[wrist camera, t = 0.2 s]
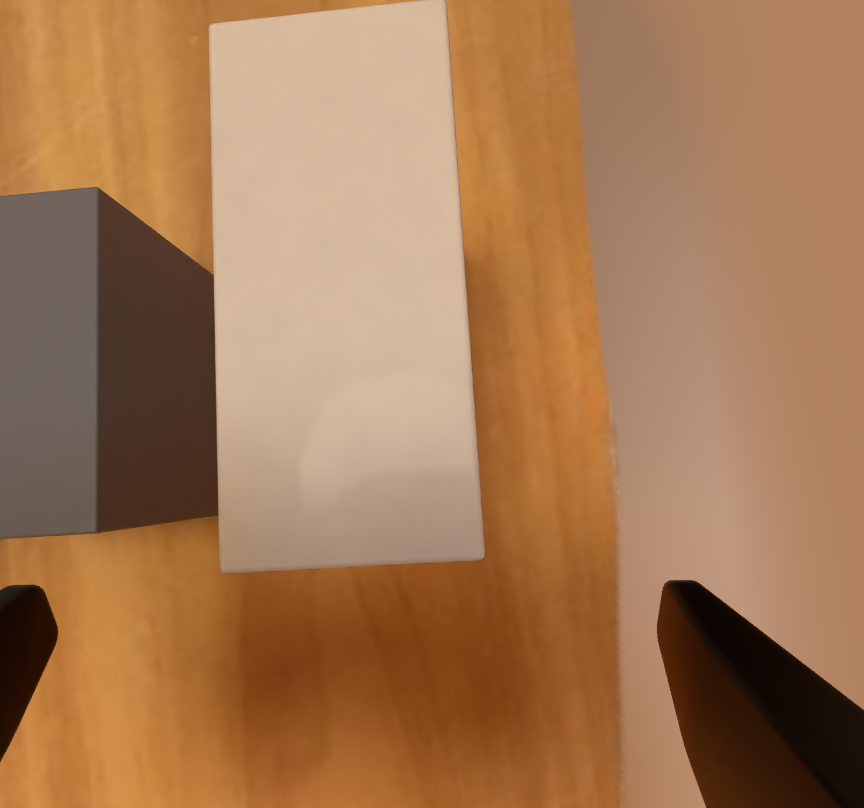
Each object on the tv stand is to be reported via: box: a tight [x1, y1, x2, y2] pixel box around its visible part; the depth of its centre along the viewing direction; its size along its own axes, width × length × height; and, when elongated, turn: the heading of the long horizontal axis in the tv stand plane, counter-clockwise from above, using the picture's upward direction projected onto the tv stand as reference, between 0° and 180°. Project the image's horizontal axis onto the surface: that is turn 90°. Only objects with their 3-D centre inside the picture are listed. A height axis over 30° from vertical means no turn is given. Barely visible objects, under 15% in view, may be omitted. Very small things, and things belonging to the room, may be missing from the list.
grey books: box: [0, 187, 218, 539], centre depth 18 cm, size 6×8×8 cm
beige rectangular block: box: [209, 0, 485, 574], centre depth 16 cm, size 4×9×12 cm, turn 4°
